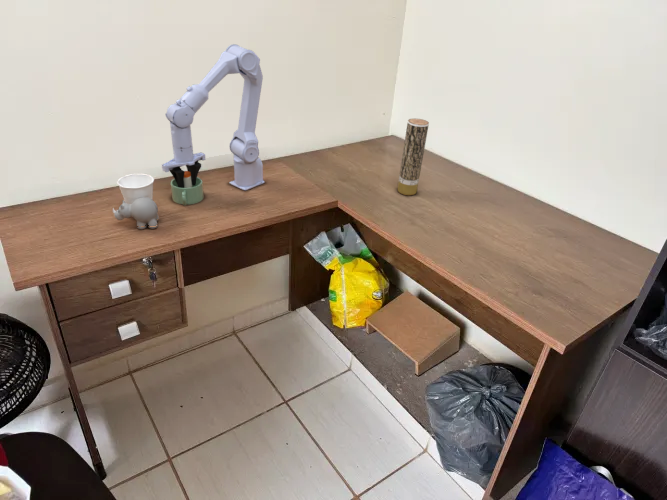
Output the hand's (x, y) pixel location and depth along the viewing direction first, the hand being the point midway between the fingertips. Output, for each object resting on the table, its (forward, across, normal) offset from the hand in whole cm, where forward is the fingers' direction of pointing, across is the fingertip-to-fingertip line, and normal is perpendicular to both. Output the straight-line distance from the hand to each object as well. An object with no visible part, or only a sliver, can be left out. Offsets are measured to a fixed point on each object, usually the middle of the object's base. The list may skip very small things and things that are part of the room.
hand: (187, 186), depth 152 cm
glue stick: (+3, 0, 0) cm, 3 cm away
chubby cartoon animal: (+4, -21, -4) cm, 22 cm away
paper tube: (+4, +56, -48) cm, 74 cm away
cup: (+4, -16, 0) cm, 17 cm away
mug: (+4, -1, -1) cm, 4 cm away
